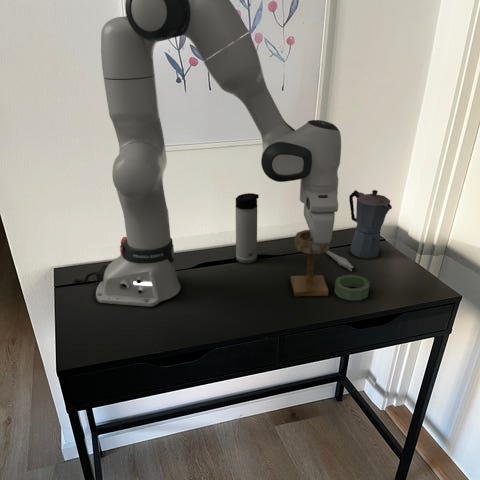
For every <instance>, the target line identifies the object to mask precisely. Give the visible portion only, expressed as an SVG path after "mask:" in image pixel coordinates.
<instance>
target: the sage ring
mask: <svg viewBox="0 0 480 480" xmlns="http://www.w3.org/2000/svg"><path fill="white" fill-rule="evenodd" d="M370 285H371V283H370V281H369V280H368V279H367V278H365V277H364V276H359V275H357V274H343V275H341V276H338V277H336V279H335V282H334V289H333V292H334V294H335V296H337V297H338V298H340V299H343V300H346V301H352V302H353V301H362V300H365V299H366V298H368V297H369V292H370V291H369V290H370ZM351 287H352V288H351Z"/></svg>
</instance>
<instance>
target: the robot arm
mask: <svg viewBox="0 0 480 480" xmlns="http://www.w3.org/2000/svg"><path fill="white" fill-rule="evenodd" d="M124 7H125V15H124V16H116V17H114V18H111V19H110V20H108V21H107V22H106V23H105V24H104V25H103V27H102V28H101V33H100V36H101V37H100V54H101V68H102V75H103V76H102V77H103V83H104V91H105V96H106V103H107V107H108V115H109V118H110V120H111V122H112V125H113V128H114V132H115V134H116V139H117V142H118V148H119V149H118V151H119V152H118V154H117V156H116V157H115V158H114V161H113V164H112V172H111V173H112V174H111V175H112V182H113V183H112V184H113V185H114V187H115V189H116V193H117V197H118V200H119V203H120V206H121V210H122V214H123V221H124V227H125V235H126V236H123V237H122V238H121V240H120V246H119V252H120V255H119V256H118V257H117V258H115V259H114V260H113V261H112V262H110V263H109V264H103V266H102V267H100V269H99V270H98V271H91V272H89V273H87V274H86V275H85V277H84V279H78V278H75V279H74V281H75V282H76V283H80V284H85V283H86V282H88V280H89V277H91V276H94V275H95V276H96V281H97V282H99V284H98V285H97V287H96V291H95V298H96V301H97V302H98V303H100V304H110V305H122V306H124V305H125V306H136V307H148V308H149V307H150V308H151V307H155V306H157V305H158V304H159V303H161V302H163V301H166V300H169V299H172V298H174V297H175V296H177V295H178V294H179V293H180V291H181V288H182V286H181V283H180V280H179V279H178V275H177V272H176V268H175V261H174V260H175V248H174V242H173V238H172V237H171V227H170V226H171V225H170V216H169V214H170V213H169V208H168V206H167V200H166V195H165V190H164V173H165V170H166V168H167V164H168V158H167V151H166V150H167V149H166V143H165V138H164V131H163V125H162V122H161V117H160V110H159V100H158V92H157V82H156V73H155V72H156V71H155V66H154V50H155V46H156V45H157V43H159V42H163V41H167V40H171V39H175V38H178V37H182V36H184V37H186V38H187V39H188V40H189V41H190V42H191V43H192V45H193V46H194V47H195V49H196V51H197V53H198V54H199V57H200V58H201V60H202V62H203V64H204V66H205V68H206V70H207V71H208V73H209V75H210V76H211V78H213V80H214V82H215V83H216V84H217V85H218V86H219V88H220V89H221V90H222V91H224V92H226V93H228V94H230V95H232V96H234V97H236V98H237V99H238V100H239V101H240V102H241V103H242V104H243V105H244V106H245V108H246V110H247V112H248V114H249V116H250V117H251V119H252V121H253V122H254V124H255V126H256V128H257V130H258V131H259V133H260V136H261V140H262V153H261V161H260V164H261V168H262V169H261V170H262V171H263V173H264V174H265V176H266V177H267V178H269V179H270V180H272V181H274V182H278V183H286V182H293V181H300V183H299V184H300V185H299V201H300V203H302V204H303V217H304V219H305V222H306V224H307V228H308V230H310V241H312V249H313V250H319V249H320V245H328V244H329V243H330V244H331V242H332V237H333V234H334V233H333V231H334V226H335V219H336V217H335V216H336V213H337V212H338V211H339V200H338V193H339V191H338V189H339V175H338V174H339V173H338V171H339V167H340V165H341V159H342V136H341V135H342V134H341V132H340V129H339V128H338V127H337V125H335V124H334V123H331V122H329V121H325V120H322V119H321V120H320V119H310V120H308V121H307V122H306V123H305V124H303V125H302V126H300V127H299V128H297V129H295V128H293V127H292V126H291V125H290V124H289V123H287V122H286V120H285V119H284V117H283V116H282V114H281V112H280V110H279V108H278V107H277V104H276V102H275V100H274V99H273V96H272V95H271V93H270V91H269V89H268V86H267V83H266V80H265V76H264V72H263V68H262V64H261V63H262V62H261V60H260V56H259V53H258V50H257V47H256V45H255V43H254V40H253V38H252V36H251V34H250V32H249V30H248V28H247V26H246V24H245V22H244V20H243V19H242V17H241V15H240V13H239V11H238V10H237V8H236V7H235V6H234V4H233V3H232V2H231V0H125V6H124Z"/></svg>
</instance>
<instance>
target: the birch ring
mask: <svg viewBox="0 0 480 480" xmlns="http://www.w3.org/2000/svg"><path fill="white" fill-rule="evenodd" d="M330 248H331V242H330V243H329V244H328V245H320V249H319V250H313V249H312V241H310V230H309V229H304V230H301V231H298V232H297V233H296V234H295V236H294V249H296V250H297V251H298V252H299V253H303V254H307V255H308V254H315V255H322V254H324V253H326V252H327V251H330Z"/></svg>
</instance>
